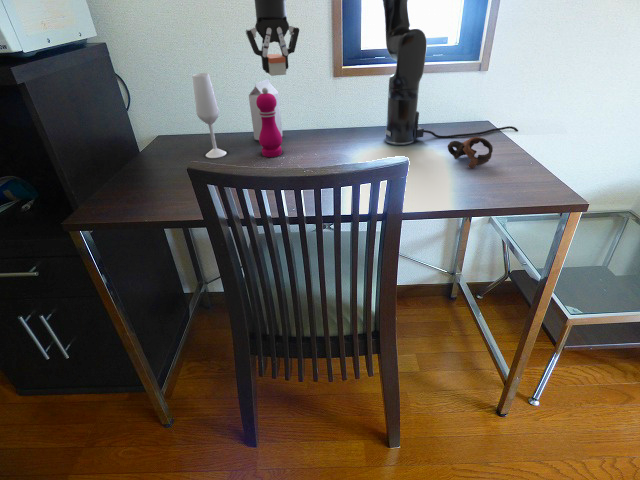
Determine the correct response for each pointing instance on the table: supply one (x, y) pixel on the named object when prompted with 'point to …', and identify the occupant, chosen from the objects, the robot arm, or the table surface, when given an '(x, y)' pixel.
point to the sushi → (276, 64)
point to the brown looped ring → (470, 150)
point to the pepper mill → (269, 125)
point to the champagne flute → (207, 108)
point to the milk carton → (255, 110)
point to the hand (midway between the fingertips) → (275, 71)
